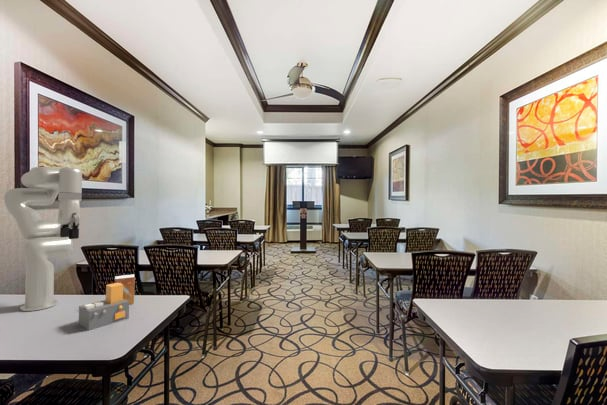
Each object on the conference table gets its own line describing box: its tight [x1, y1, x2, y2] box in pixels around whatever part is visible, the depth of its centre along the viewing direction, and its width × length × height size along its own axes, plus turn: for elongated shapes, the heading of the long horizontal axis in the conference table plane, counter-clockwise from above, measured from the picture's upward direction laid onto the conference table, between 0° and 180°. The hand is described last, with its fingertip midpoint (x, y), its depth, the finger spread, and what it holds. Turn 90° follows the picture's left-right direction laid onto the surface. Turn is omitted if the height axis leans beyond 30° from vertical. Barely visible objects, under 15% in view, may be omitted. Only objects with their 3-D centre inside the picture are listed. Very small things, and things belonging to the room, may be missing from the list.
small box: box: [114, 274, 136, 305], centre depth 133 cm, size 8×6×13 cm
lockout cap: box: [105, 282, 123, 304], centre depth 116 cm, size 4×4×7 cm
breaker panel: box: [78, 299, 130, 331], centre depth 113 cm, size 11×14×8 cm
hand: (69, 237), depth 117 cm, fingers open, 9 cm apart
